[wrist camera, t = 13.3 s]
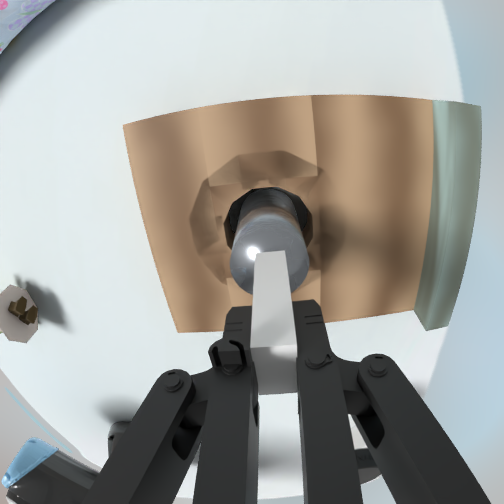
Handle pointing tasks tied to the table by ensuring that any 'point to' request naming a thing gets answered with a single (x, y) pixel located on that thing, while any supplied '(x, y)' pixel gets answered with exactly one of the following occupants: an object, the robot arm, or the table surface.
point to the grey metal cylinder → (268, 237)
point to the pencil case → (17, 17)
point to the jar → (363, 456)
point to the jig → (314, 200)
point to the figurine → (17, 314)
